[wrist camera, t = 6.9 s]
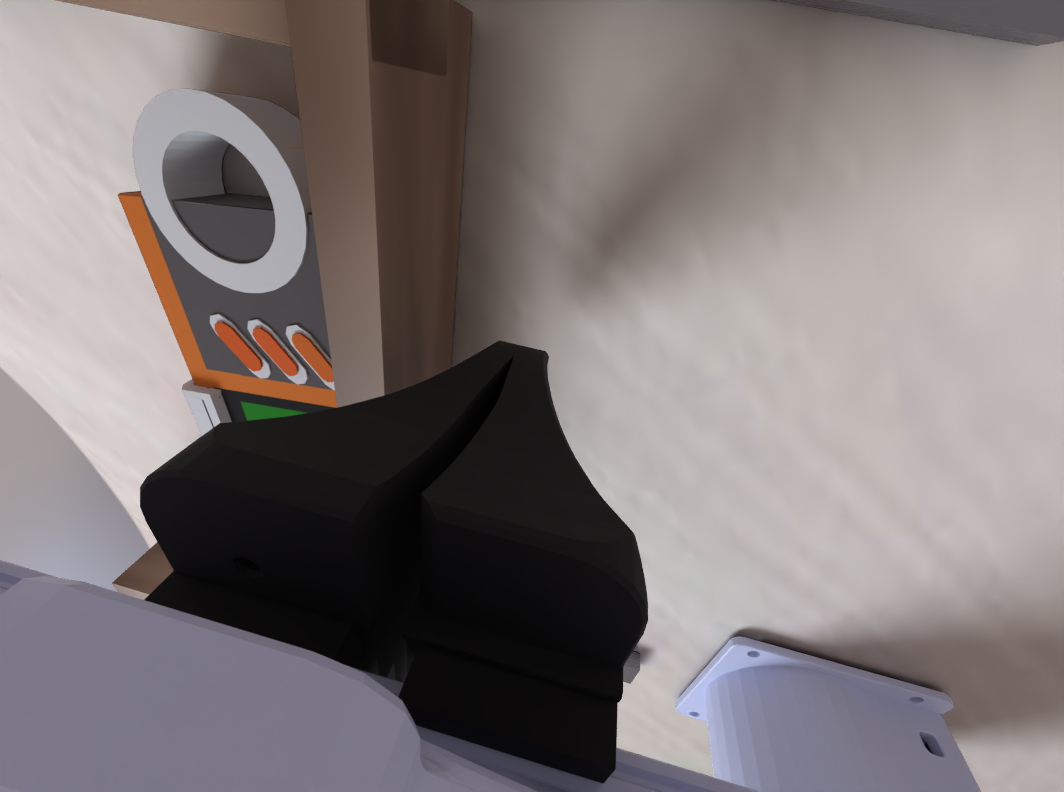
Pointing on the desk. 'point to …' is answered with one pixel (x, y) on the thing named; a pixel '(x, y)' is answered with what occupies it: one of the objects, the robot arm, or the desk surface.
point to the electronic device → (232, 255)
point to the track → (955, 5)
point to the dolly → (363, 177)
